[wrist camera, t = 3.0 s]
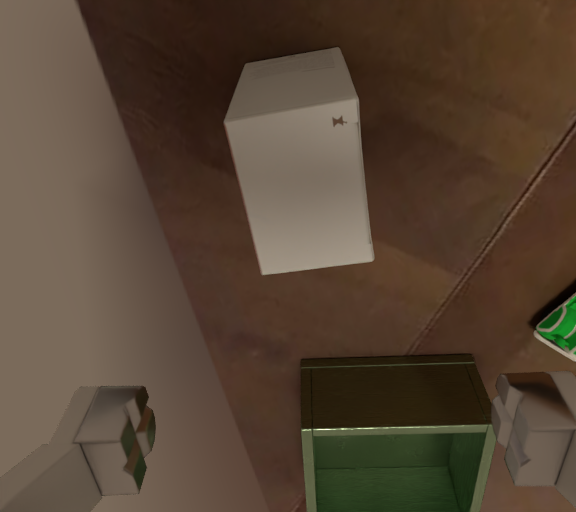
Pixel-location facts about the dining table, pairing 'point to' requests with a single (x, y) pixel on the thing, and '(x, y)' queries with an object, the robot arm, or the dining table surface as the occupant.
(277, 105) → the small box
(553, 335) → the toy car
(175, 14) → the dining table surface
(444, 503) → the open box
